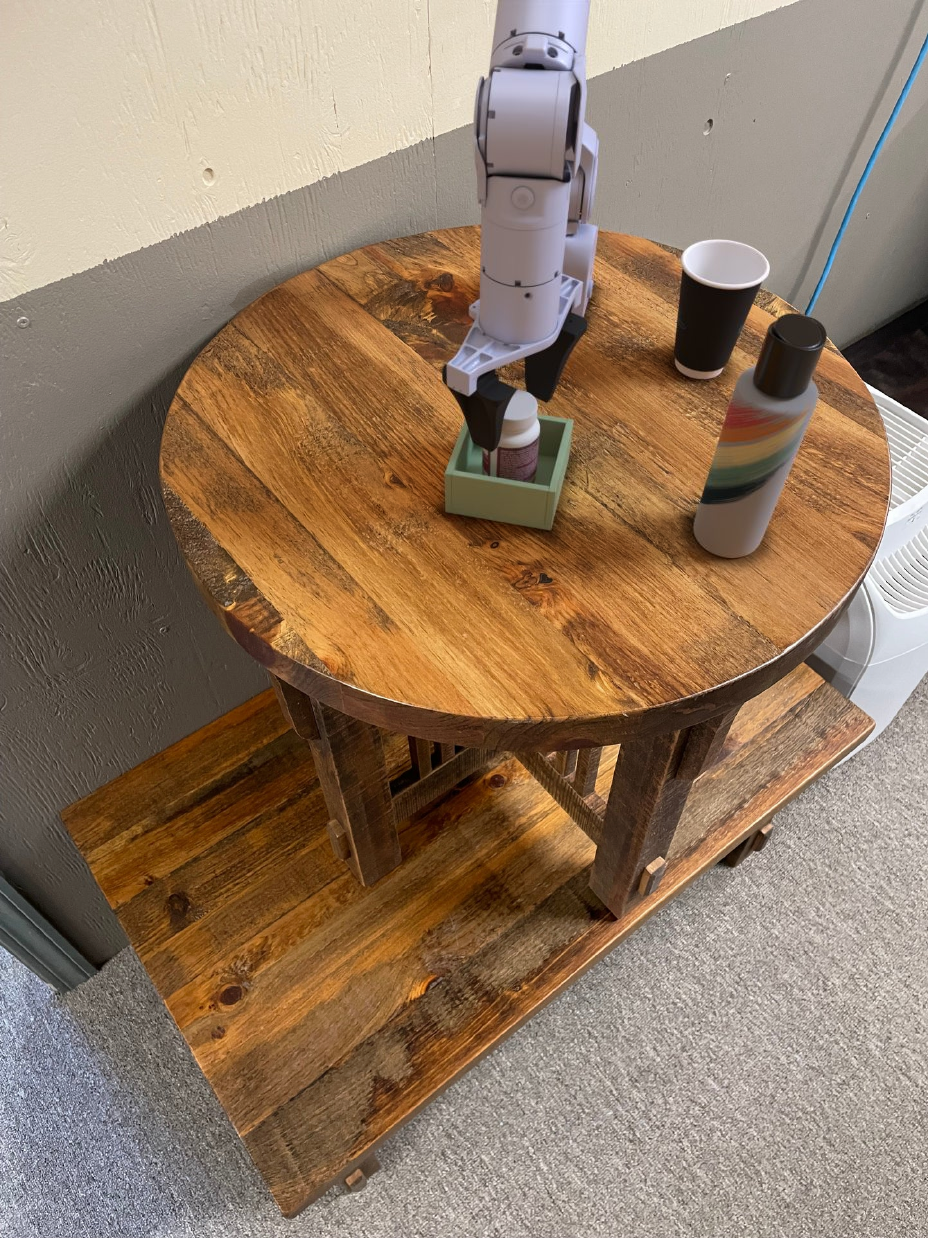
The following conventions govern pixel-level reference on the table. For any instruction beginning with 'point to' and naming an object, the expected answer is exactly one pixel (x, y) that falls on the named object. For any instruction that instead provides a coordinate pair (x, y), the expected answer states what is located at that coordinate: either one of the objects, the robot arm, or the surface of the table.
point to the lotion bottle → (760, 438)
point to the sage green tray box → (506, 496)
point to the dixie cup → (714, 303)
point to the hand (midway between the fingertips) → (512, 420)
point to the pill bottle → (516, 442)
